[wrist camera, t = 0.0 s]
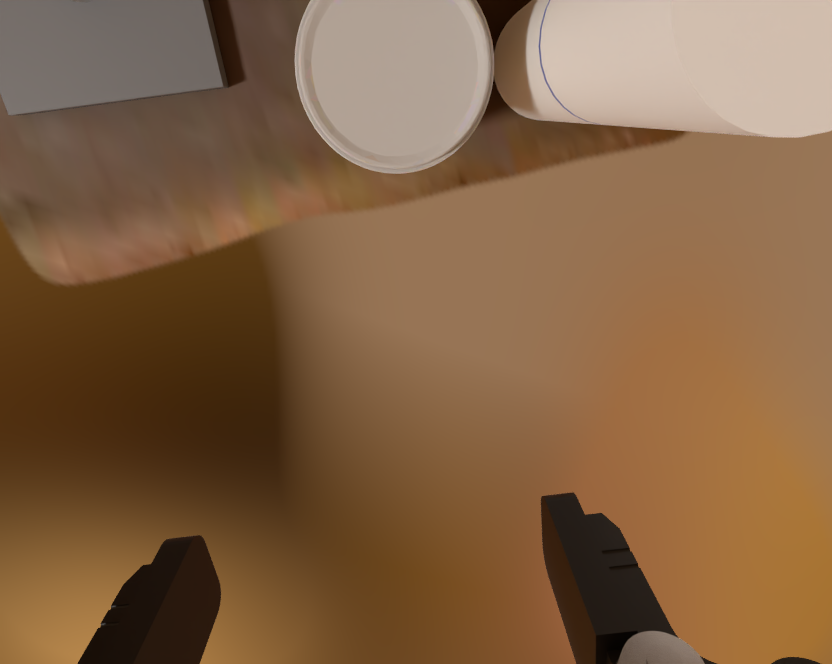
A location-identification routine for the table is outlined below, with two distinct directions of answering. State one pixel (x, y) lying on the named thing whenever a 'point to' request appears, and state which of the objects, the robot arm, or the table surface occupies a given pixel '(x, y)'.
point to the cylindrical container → (672, 64)
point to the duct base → (104, 52)
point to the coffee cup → (394, 78)
